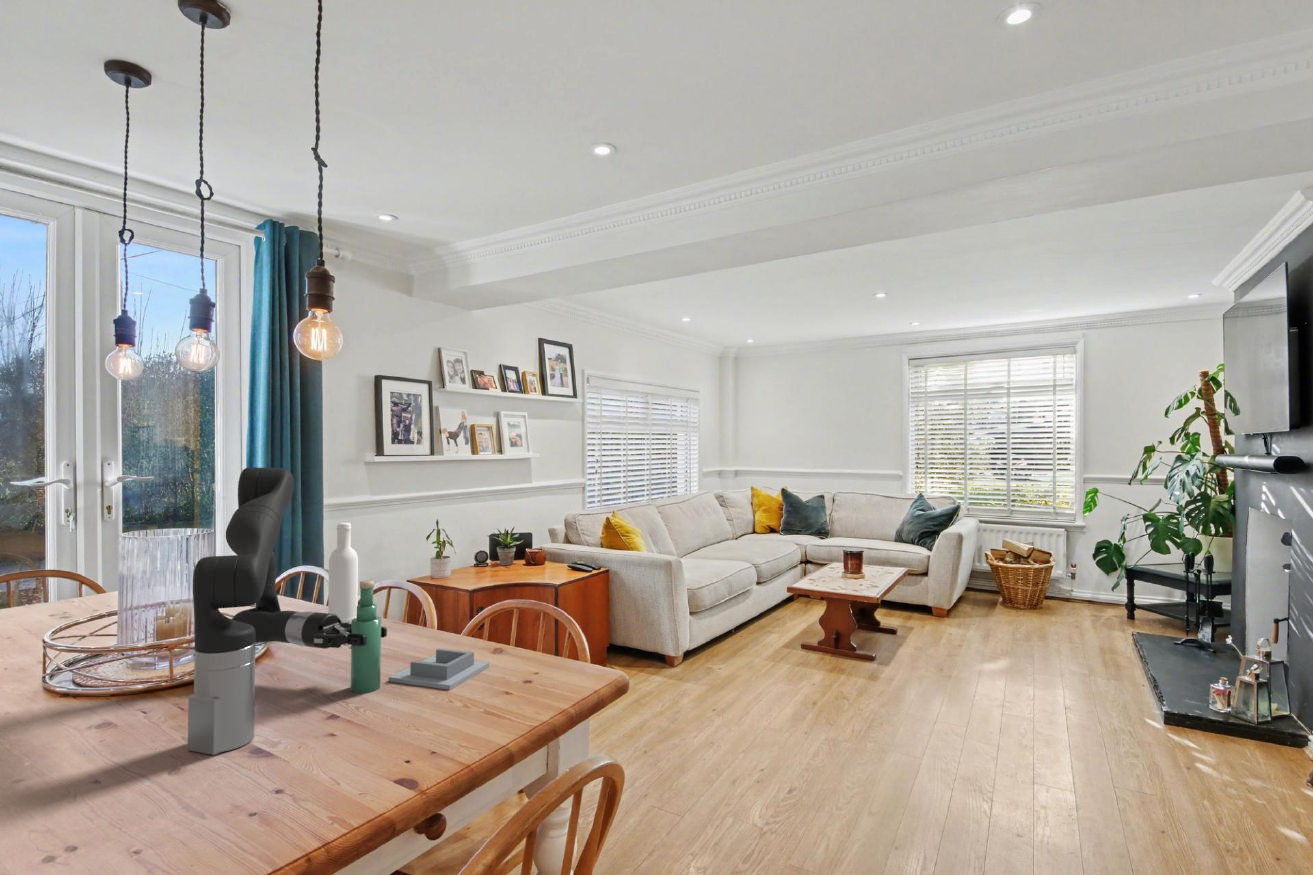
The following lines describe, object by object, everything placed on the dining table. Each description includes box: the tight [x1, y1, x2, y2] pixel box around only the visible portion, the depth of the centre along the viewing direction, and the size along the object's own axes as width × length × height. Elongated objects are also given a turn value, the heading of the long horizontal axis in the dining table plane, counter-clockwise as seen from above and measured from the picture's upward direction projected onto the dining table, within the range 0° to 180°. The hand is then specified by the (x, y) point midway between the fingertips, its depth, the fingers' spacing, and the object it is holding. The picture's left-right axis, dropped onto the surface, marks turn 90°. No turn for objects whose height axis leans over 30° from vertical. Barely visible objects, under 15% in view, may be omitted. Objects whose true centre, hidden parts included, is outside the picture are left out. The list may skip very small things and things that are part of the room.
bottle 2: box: [350, 580, 382, 694], centre depth 149 cm, size 6×6×23 cm
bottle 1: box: [327, 522, 359, 622], centre depth 197 cm, size 8×8×30 cm
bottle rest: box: [388, 648, 490, 691], centre depth 159 cm, size 16×16×4 cm
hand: (375, 636), depth 149 cm, fingers closed on bottle 2, 6 cm apart
